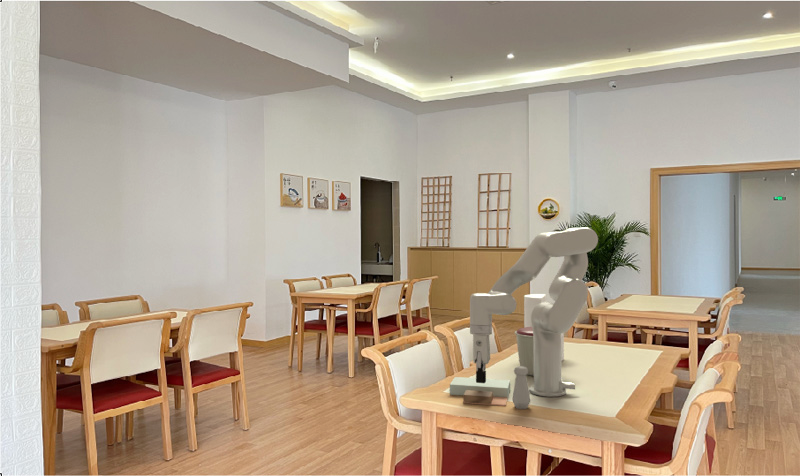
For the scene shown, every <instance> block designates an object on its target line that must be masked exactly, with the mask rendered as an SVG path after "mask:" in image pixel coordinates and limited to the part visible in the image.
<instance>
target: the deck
mask: <svg viewBox="0 0 800 476" xmlns="http://www.w3.org/2000/svg"><path fill="white" fill-rule="evenodd" d="M466 390H473V391H487V392H493V397H507V398H508V399H509V395H510V393H511V380H510V379H497V378H496V379H495V378H486V382H485V383H476V377H464V376H463V377H462V376H454V377H453V379H452V381H451V382H450V384H449V395H451V396H452V395H454V396H463V395H464V393H465V391H466Z"/></svg>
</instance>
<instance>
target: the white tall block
mask: <svg viewBox="0 0 800 476" xmlns="http://www.w3.org/2000/svg"><path fill="white" fill-rule="evenodd" d="M523 299H524V300H523V301H524V303H523V304H524V305H523V309H524V310H523V313H524V314H523V317H524V318H523V319H524V321H523V326H524V327H532V322H531V314H532V311H533V309H534V307H535V306H536V305H538V304H539V303H543V302H547V294H545V293H531V294H525V295H524V296H523ZM524 327H523V328H524ZM560 336H561V362H562V361H564V360H565V353H564V352H565V349H564V347H565V338H564V337H565V333H562V334H561V335H560Z"/></svg>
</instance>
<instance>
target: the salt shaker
mask: <svg viewBox="0 0 800 476" xmlns="http://www.w3.org/2000/svg"><path fill="white" fill-rule="evenodd" d="M513 372H514V374H515V380H514V387H513V392H512V403H513V405H514V407H515V409H519V410H527V409H528V408H529V405H530V404H531V401H532V400H531V395H530V391H529V384H528V378H527V374H528V369H527V368H526V367H523V366H520V365H519V366H515V368H514V371H513Z"/></svg>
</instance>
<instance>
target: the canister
mask: <svg viewBox="0 0 800 476" xmlns="http://www.w3.org/2000/svg"><path fill="white" fill-rule="evenodd" d="M514 335H515V337H516V345H517V354H518V361H519V362H518V363H519V366H523V367H526V368H527V369H528V374H527V375H528V376H533V377H534V339H533V328H532V327H521V328H519V329H517V330H515V331H514ZM560 335H561V334H560ZM527 375H526V376H527Z"/></svg>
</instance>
